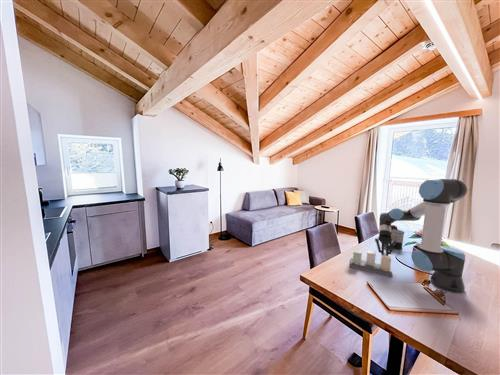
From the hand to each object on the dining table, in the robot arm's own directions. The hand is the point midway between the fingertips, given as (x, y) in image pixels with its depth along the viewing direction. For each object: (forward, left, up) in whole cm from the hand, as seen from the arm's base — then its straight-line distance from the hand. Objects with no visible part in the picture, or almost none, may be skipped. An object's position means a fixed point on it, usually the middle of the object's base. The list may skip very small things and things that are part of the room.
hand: (384, 262), depth 143 cm
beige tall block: (-2, +3, -3) cm, 5 cm away
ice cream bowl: (+31, -62, -5) cm, 69 cm away
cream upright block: (+7, +5, -3) cm, 9 cm away
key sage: (+11, +14, -3) cm, 18 cm away
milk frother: (+19, -43, -5) cm, 48 cm away
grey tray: (+6, +7, -5) cm, 10 cm away
